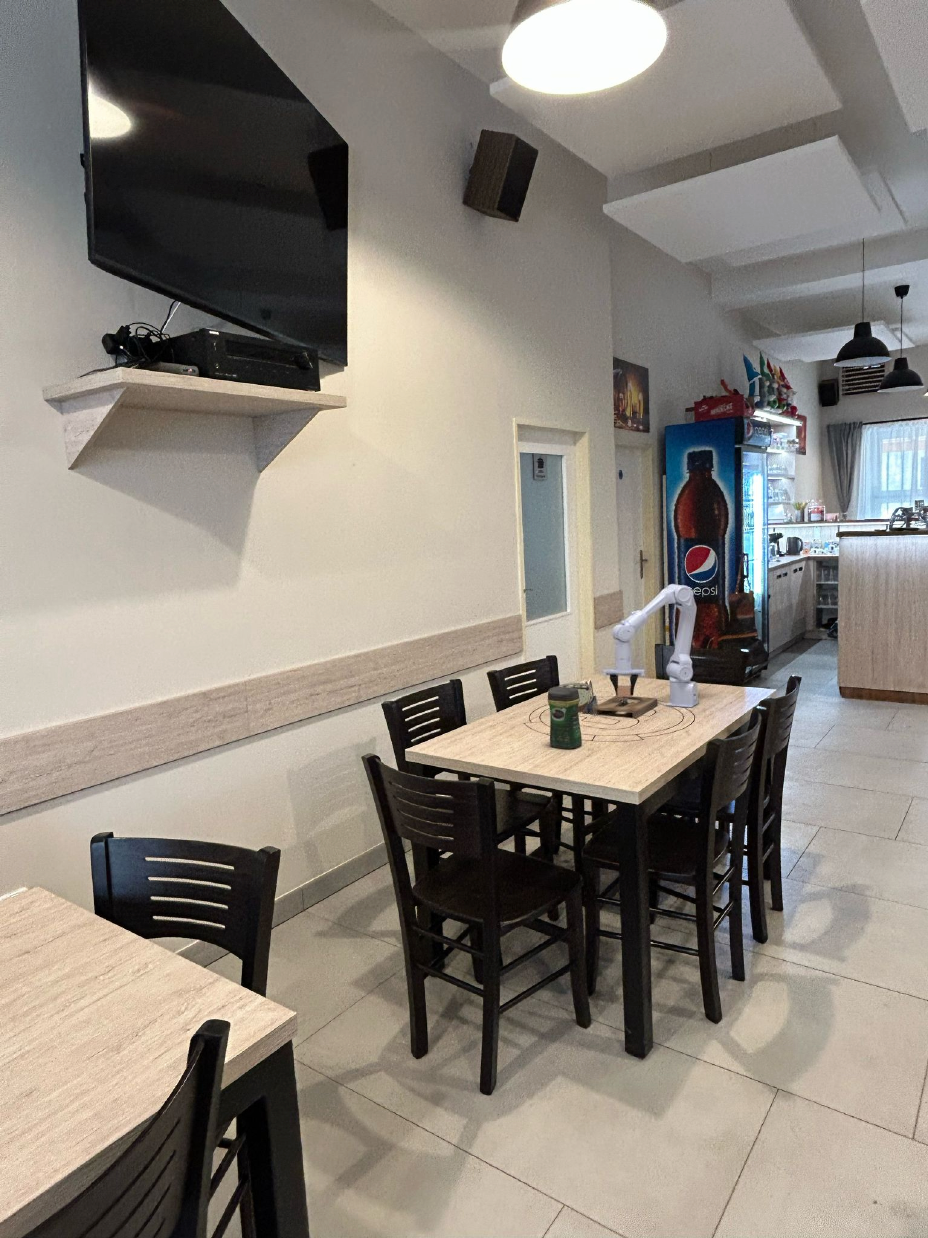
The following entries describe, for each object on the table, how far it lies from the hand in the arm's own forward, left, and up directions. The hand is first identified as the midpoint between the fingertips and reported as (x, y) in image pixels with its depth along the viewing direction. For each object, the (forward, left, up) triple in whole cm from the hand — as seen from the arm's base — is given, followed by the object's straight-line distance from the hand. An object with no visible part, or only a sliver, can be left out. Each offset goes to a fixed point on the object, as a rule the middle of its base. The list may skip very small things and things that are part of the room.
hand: (624, 695), depth 286 cm
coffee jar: (-1, +49, -6) cm, 49 cm away
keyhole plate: (0, 0, -6) cm, 6 cm away
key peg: (0, 0, -6) cm, 6 cm away
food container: (+17, +7, -6) cm, 19 cm away
